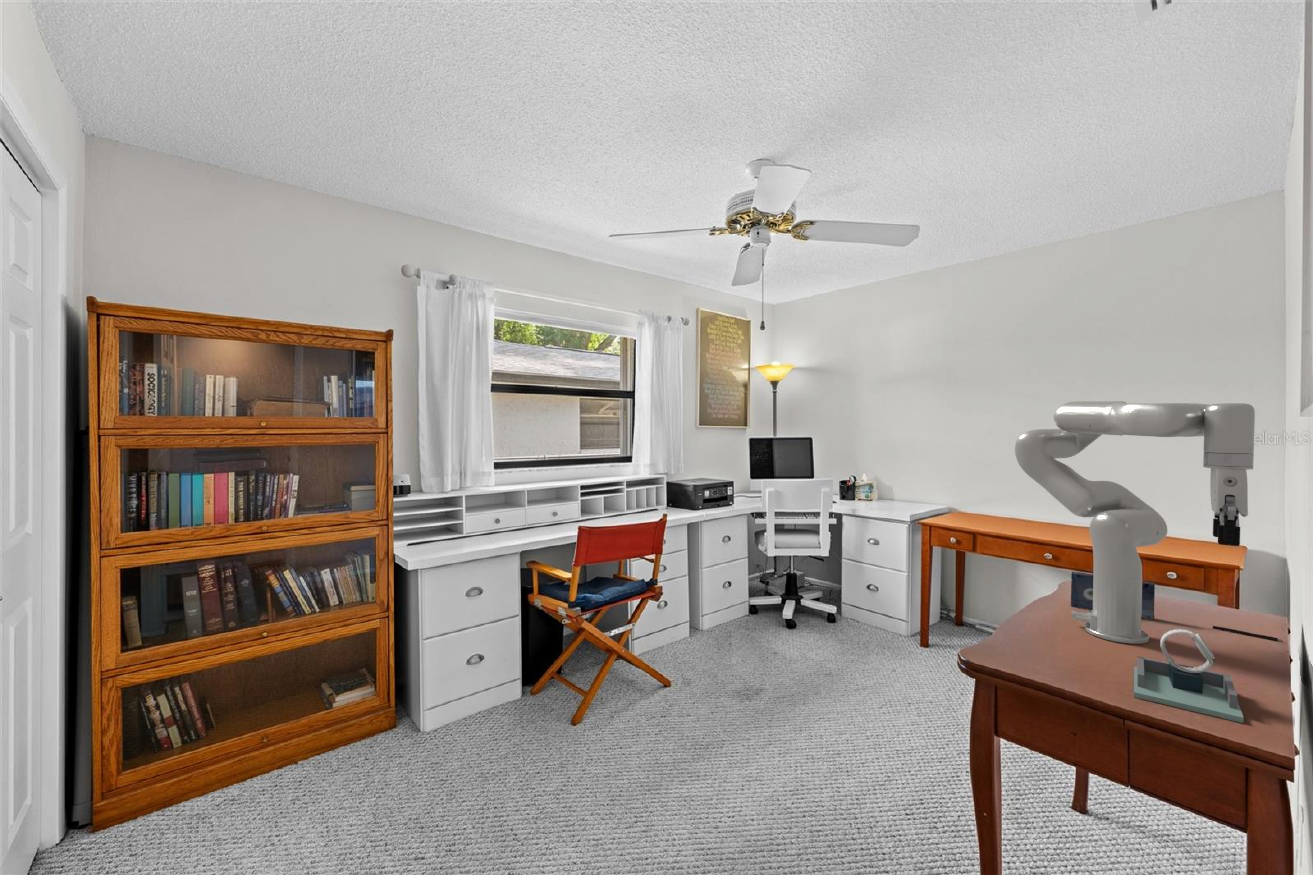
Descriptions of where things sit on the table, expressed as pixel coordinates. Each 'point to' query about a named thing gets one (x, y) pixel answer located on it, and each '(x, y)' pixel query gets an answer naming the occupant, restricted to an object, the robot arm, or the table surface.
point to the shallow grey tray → (1213, 701)
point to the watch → (1183, 674)
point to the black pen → (1248, 634)
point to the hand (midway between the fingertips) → (1225, 541)
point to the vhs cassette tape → (1084, 594)
